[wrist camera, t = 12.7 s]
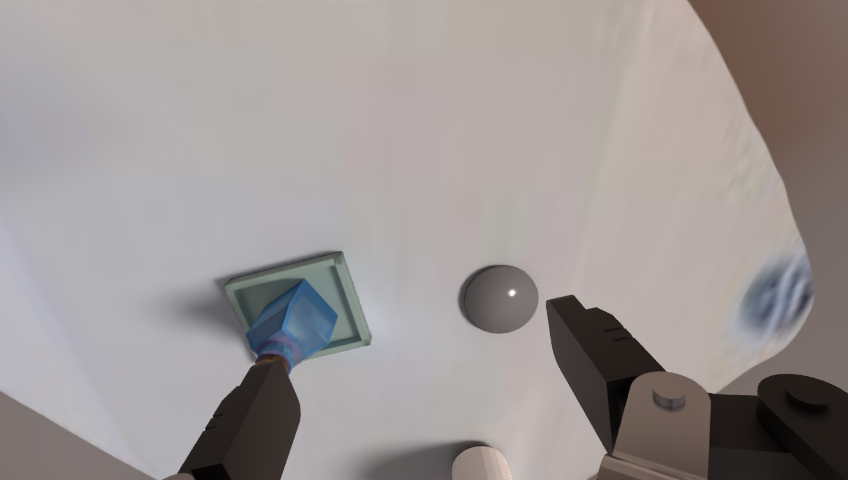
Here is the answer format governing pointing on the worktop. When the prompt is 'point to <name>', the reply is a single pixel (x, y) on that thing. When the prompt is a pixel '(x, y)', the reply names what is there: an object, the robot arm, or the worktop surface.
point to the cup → (480, 465)
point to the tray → (325, 278)
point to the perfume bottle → (292, 327)
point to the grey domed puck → (501, 299)
